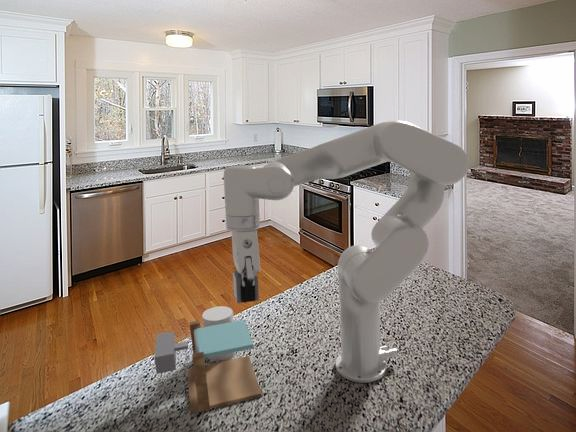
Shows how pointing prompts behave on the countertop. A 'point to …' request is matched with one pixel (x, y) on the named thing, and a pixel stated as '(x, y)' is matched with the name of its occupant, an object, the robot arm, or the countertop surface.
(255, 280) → the grey block
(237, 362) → the frame
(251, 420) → the countertop surface
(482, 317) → the countertop surface
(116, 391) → the countertop surface
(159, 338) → the trapdoor
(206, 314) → the cup
